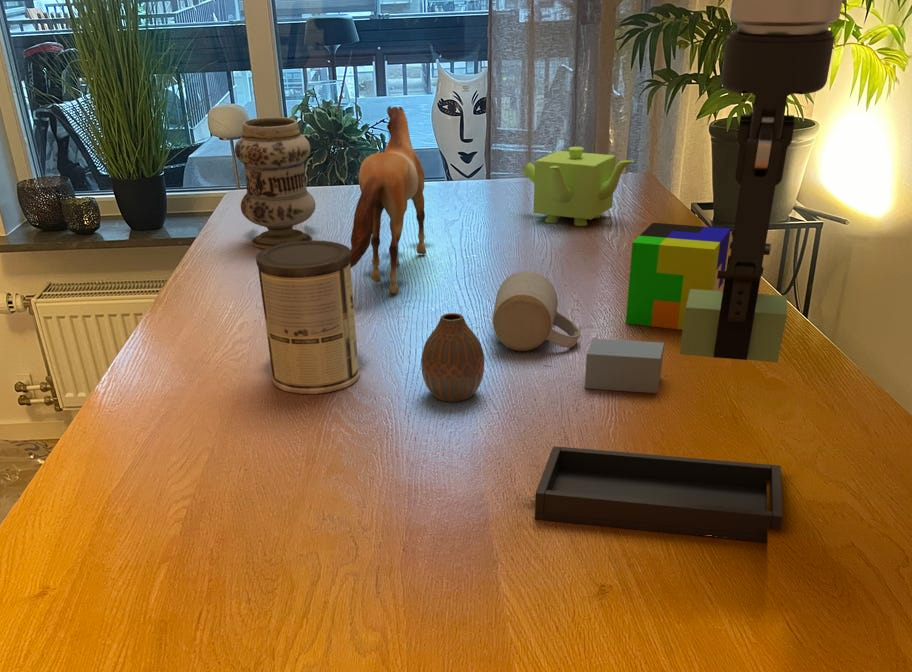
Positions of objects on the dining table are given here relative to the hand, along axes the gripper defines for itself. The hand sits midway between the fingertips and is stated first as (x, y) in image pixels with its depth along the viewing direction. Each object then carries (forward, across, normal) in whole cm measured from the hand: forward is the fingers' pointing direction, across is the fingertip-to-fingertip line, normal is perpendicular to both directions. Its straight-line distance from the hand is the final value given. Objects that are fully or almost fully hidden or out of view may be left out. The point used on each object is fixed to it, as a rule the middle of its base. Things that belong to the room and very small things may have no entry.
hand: (731, 344), depth 86 cm
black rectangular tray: (+13, +6, -4) cm, 15 cm away
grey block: (+13, -22, -11) cm, 28 cm away
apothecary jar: (+14, -71, -73) cm, 103 cm away
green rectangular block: (0, 0, 0) cm, 0 cm away
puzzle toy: (+13, -46, -7) cm, 49 cm away
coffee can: (+13, -17, -46) cm, 50 cm away
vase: (+13, -15, -29) cm, 35 cm away
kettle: (+13, -93, -28) cm, 98 cm away
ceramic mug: (+13, -33, -23) cm, 42 cm away
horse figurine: (+13, -57, -52) cm, 78 cm away
